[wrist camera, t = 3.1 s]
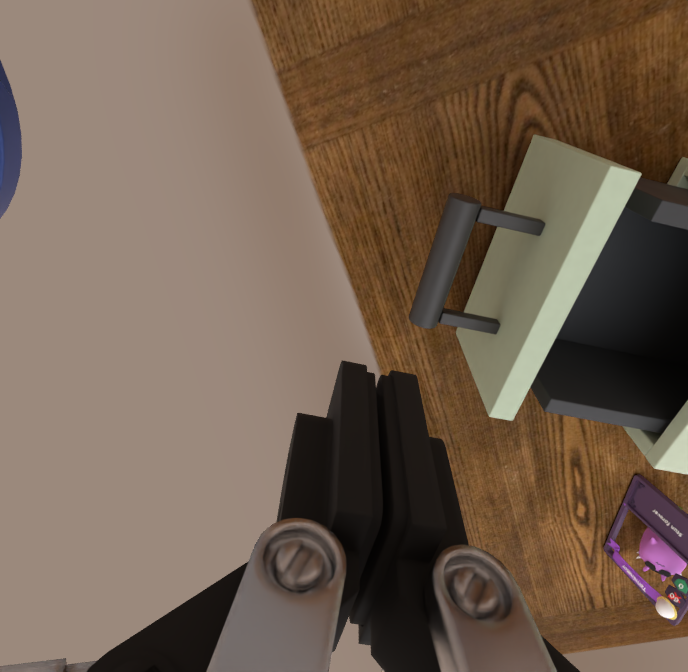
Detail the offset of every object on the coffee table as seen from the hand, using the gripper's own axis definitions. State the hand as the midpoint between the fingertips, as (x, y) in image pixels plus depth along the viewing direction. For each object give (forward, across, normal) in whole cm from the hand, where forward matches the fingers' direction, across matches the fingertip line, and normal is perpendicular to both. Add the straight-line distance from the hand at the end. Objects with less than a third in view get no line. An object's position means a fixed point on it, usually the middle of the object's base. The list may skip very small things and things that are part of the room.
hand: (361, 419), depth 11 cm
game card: (+18, -28, +19) cm, 38 cm away
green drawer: (+17, -13, 0) cm, 21 cm away
